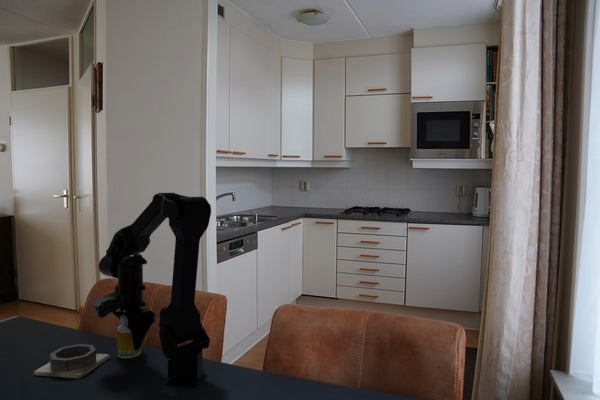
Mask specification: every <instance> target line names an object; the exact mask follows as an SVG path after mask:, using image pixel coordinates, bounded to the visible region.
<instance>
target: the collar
mask: <svg viewBox="0 0 600 400" xmlns="http://www.w3.org/2000/svg"><path fill="white" fill-rule="evenodd" d="M108 359H110V354H105V353H97V349H96V347H95V346H94V345H93V344H82V343H81V344H80V343H78V344H74V345H69V346H68V345H67V346H63V347H60V348H57V350H54V351H53V352H51V353H50V354H49V362H48V363H46V364H44V365H43V366H41V367H39V368H37V369H35V370H34V371H33V376H42V377H43V376H45V377H54V378H55V377H56V378H70V379H81V378H83V377H85V376H86V375H88V373H90V372H92V371H93V370H94V369H96V368H97V367H99V366H100V365H102V364H103V363H104V362H106V361H107V360H108Z"/></svg>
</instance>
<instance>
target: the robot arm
mask: <svg viewBox="0 0 600 400" xmlns="http://www.w3.org/2000/svg"><path fill="white" fill-rule="evenodd" d="M211 215H212V205H211V204H210V202H209V201H208V199H206V197H204V196H189V195H188V196H187V195H184V194H183V195H182V194H178V193H176V192H158V193H155V194H154V195H153V196H152V200H151V202H150V203H149V204H148V205H147V206H146V208H145V209H144V210H142V212H141V213H140V214H139V216H138V217H136V218H135V220H134V221H133V222H132V223H131V224H130V225H127V226H125V227H122V228H120V229H119V230H117V231H116V232H115V233H114V235H112V236H113V237H112V239H111V242H110V244H109V246H108V248H107V250H105V255H103V257H102V258H100V261H99V263H98V271H99V272H100V274H102V275H103V276H106V277H111V278H114V279H117V284H116V285H115V287H114V291H113V292H110V293H108V294H105V295H104V296H102V297H100V298H97V299H96V300H94V301H93V302H91V305H92V308H93V310H94V312H95V314H96V316H97V317H98V318H99V319H103V318H106V317H107V316H108V315H109V314H113V315H114V316H115V317H117V319H118V321H119V325H120V324H121V323H120V317H121V316H122V315H124V323H125V324H124V325H125V326H126V327H127V328H128V329H130V330H131V335H132V341H133V346H134V350H139V349H140V347H141V348H142V344H143V342H144V340H145V339H146V338H145V337H146V336H147V334H148V332H149V331H150V330H149V329H150V328H151V327H152V325H153V324H155V322H156V313H155V312H153V311H152V310H151V309H149V307H146V305H147V304H146V301H145V300H144V291H145V290H146V285H145V284H144V279H143V278H144V268H143V267H144V266H143V265H147V264H148V261H147V260H146V258H144V257H143V255H142V254H141V253H144V252H145V251H146V249H147V248H148V246H149V245H150V243H151V239H150V237H151V235H153V233H154V232H155V231H156V230H157V229H158V228H159V227H160V226H161V225H162V223H163V222H165V220H166V219H168V226H169V228H170V230H171V231H172V233H173V235H174V238H175V241H174V256H173V268H172V269H173V270H172V278H171V279H172V280H171V282H172V284H171V295H170V303H169V305H168V306H166V307H162V308H160V311H159V323H158V328H159V330H158V336H159V341H160V346H161V349H162V354H163V355H164V356H165V359H167V378H168V379H167V381H166V382H165V385H166V386H178V387H179V386H180V387H191V388H193V387H195V388H196V386H197V385H199V383H200V382H201V381H202V379H203V378H204V377H205V375H206V372H207V371H205V370H204V368H203V367H204V365H203V363H204V362H203V359H204V358H203V353H204V352H203V350H205V349H208V348H209V347H210V344H211V338H210V337H209V335H208V333H207V331H206V330H205V328H204V326H203V324H202V319H201V318H202V317H201V316H202V315H201V313H200V311H199V309H198V307H197V306H196V304H195V301H196V299H195V298H196V288H197V276H198V266H199V265H198V263H199V254H200V253H199V252H200V241H201V238H202V237H203V235H204V234H205V232H206V231H207V229H208V227H209V225H210V220H211ZM189 341H190V342H189ZM186 342H187V343H186ZM183 343H184V344H183Z"/></svg>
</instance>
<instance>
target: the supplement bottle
mask: <svg viewBox="0 0 600 400" xmlns="http://www.w3.org/2000/svg"><path fill="white" fill-rule="evenodd" d="M120 323H121V324H120ZM124 324H125V323H124V315H122V316H121V317H120V322H119V325H118V326H117V328H116V329H117V331H116V333H117V334H116V335H117V337H116V338H117V356H118V357H119V358H120V359H125V360H127V358H128V359H133V357H134V358H136V357H138V356H140V355H141V353H142V346H141V347H140V349H139V350H134V346H133V341H132V335H131V330H130V329H128V328H127V327H126V326H125V325H124Z"/></svg>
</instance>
